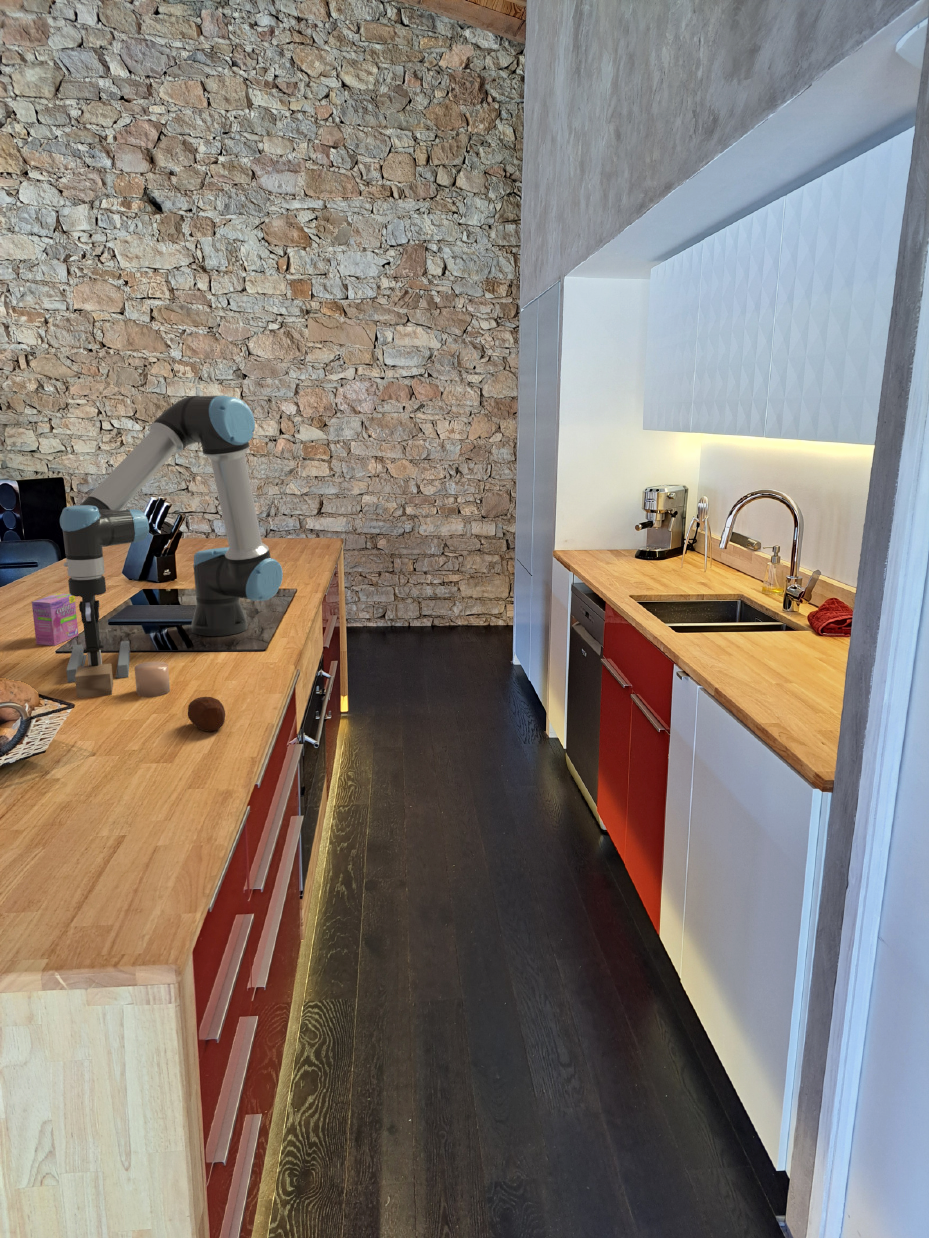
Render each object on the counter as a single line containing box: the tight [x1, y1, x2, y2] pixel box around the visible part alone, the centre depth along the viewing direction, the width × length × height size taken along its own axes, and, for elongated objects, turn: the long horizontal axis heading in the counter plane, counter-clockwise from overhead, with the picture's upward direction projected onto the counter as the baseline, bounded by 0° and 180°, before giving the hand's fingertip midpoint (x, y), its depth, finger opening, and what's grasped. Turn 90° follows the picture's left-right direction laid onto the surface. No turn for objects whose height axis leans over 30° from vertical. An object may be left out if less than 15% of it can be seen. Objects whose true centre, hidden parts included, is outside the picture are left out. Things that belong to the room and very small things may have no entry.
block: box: [74, 663, 114, 699], centre depth 194 cm, size 7×8×5 cm
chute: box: [66, 640, 131, 684], centre depth 211 cm, size 13×22×3 cm, turn 19°
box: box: [31, 592, 79, 647], centre depth 233 cm, size 10×6×12 cm, turn 168°
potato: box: [187, 696, 226, 732], centre depth 172 cm, size 7×9×6 cm
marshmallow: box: [134, 660, 171, 698], centre depth 193 cm, size 7×7×6 cm
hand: (96, 677), depth 198 cm, fingers closed
